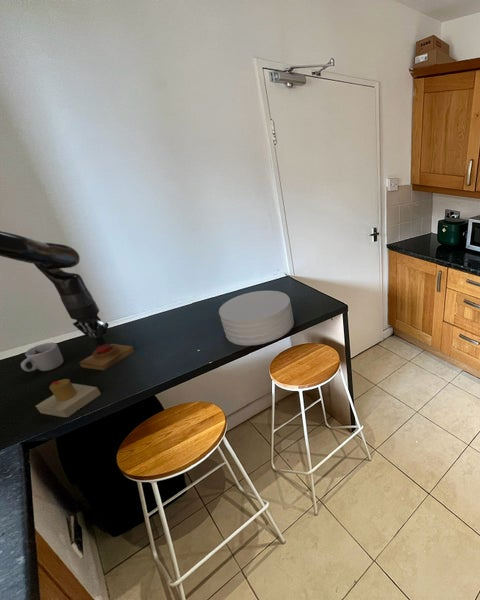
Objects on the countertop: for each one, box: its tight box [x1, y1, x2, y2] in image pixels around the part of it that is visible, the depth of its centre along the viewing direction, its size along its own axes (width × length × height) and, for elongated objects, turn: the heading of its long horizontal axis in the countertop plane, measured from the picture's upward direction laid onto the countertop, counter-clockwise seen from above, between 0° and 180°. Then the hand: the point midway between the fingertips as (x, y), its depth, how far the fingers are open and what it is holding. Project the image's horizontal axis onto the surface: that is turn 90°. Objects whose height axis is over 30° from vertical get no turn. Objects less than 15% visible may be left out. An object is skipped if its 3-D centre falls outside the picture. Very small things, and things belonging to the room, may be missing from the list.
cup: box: [20, 342, 64, 373], centre depth 112 cm, size 11×8×8 cm
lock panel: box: [35, 382, 102, 419], centre depth 98 cm, size 10×10×3 cm
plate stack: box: [218, 290, 295, 346], centre depth 136 cm, size 28×28×12 cm
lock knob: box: [49, 378, 77, 401], centre depth 96 cm, size 4×4×5 cm
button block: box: [78, 343, 135, 371], centre depth 118 cm, size 12×10×4 cm
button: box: [95, 343, 112, 354], centre depth 117 cm, size 4×4×2 cm
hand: (101, 344), depth 116 cm, fingers closed
